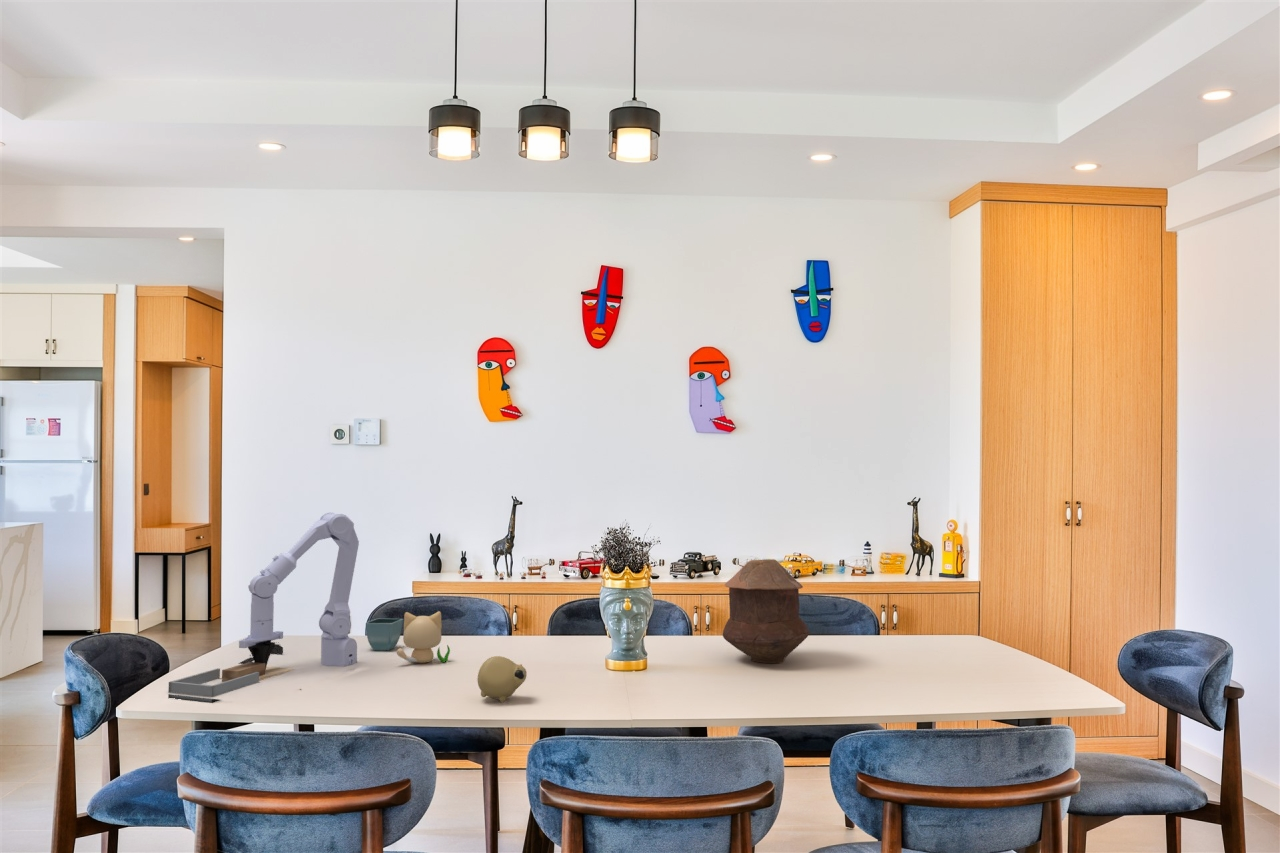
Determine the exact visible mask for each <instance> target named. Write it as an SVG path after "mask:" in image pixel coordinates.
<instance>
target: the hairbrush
mask: <svg viewBox="0 0 1280 853" xmlns="http://www.w3.org/2000/svg"><path fill="white" fill-rule="evenodd" d="M274 643H275V647H274V648H273V650H272V652H271V654H270V656H272V655H278V656H283V654H284V647H282V646H281V644H280V642H277V641H275V642H274ZM248 662H254V659H253V656H249V657H248V658H246V659H244V660H242V661H240V662H238V663H237V664H238V665H241V664H245V663H248Z"/></svg>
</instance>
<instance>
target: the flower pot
mask: <svg viewBox="0 0 1280 853" xmlns="http://www.w3.org/2000/svg"><path fill="white" fill-rule="evenodd" d="M403 622H404V618H375V619H371V620H369V621H367V622H365V628H366V630H365V631H366V638H367V642H368V643H369V645H370V647H371V649H372V650H373V651H386V650H388V651H390V650H392V649H394V648H396V646H397V644H398V642H399V640H400V639H401V634H402V627H403Z"/></svg>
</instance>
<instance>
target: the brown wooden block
mask: <svg viewBox="0 0 1280 853" xmlns="http://www.w3.org/2000/svg"><path fill="white" fill-rule="evenodd" d="M237 666H244V667H252V673H255V672H259V676H262V675H265V663H257V662H254V661H252V662H248V663H245V664H238V665H237Z"/></svg>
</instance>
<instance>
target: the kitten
mask: <svg viewBox="0 0 1280 853" xmlns="http://www.w3.org/2000/svg"><path fill="white" fill-rule="evenodd" d="M403 616H404V618H403V622H404V623H403V635H402V636H403V638H402V641H403V644H404V645H405V647H408V648H410V649H413V651H412V653H411V656H410V655H407V654H406V652H405V651H404V649H403V648H398V649H397V650H396V654H397V656H398V657H399V658H401V659H404V660H405V661H407V662H410V663H416V664H426V663H430V662H432V661H433V660H434V658H435V656H434V651H433V649H432V648H435V647H437V646H439V645H440V644H441V641H442V612H441V611H439V610H438V611H437V612H435V613H434V614H431V615H429V616H428V615H418V616H416V615H414V614H412V613H410V612H408V611H406V612H404V615H403ZM446 646H447V652H446V653H445V655H444V657H443V656H442V655H441V650H440V649H441V648H440V647H438V648H437V652H436V656H437V658H438V659H439V663H440V662H445V661H448V662H449V656H450V653H451V649H450V646H449V644H447V645H446ZM445 663H446V662H445Z"/></svg>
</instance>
